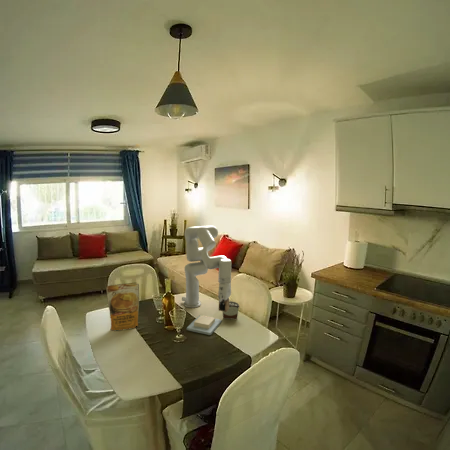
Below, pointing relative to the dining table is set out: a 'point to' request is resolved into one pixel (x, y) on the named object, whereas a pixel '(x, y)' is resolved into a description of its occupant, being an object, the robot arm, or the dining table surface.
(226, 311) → the walnut block
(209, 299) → the dining table surface
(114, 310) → the pancake mix bag
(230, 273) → the robot arm
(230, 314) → the food container
